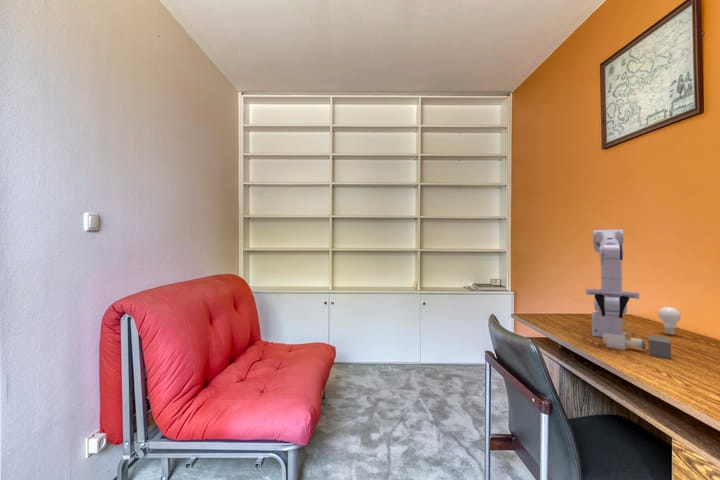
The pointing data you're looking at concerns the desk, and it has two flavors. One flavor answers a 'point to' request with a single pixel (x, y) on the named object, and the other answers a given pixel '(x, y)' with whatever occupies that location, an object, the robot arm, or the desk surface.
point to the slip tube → (630, 339)
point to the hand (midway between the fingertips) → (612, 317)
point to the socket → (659, 347)
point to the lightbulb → (669, 318)
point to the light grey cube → (615, 339)
